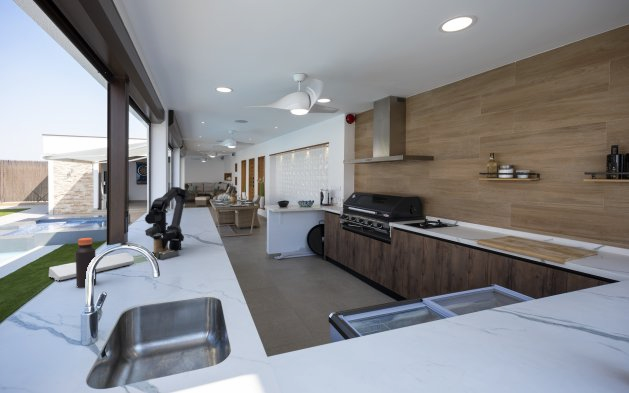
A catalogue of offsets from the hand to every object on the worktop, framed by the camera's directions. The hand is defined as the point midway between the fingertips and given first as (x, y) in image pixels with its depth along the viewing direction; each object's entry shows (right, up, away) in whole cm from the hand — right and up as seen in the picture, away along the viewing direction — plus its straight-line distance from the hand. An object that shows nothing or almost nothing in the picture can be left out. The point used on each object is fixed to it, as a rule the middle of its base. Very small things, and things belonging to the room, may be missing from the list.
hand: (160, 248), depth 183 cm
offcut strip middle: (+3, -5, -1) cm, 5 cm away
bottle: (-8, -8, -48) cm, 49 cm away
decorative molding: (-18, -7, -28) cm, 34 cm away
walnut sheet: (0, -4, 0) cm, 4 cm away
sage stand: (-6, -6, -11) cm, 14 cm away
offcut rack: (+3, -5, -1) cm, 6 cm away
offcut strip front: (+5, -5, -2) cm, 7 cm away
